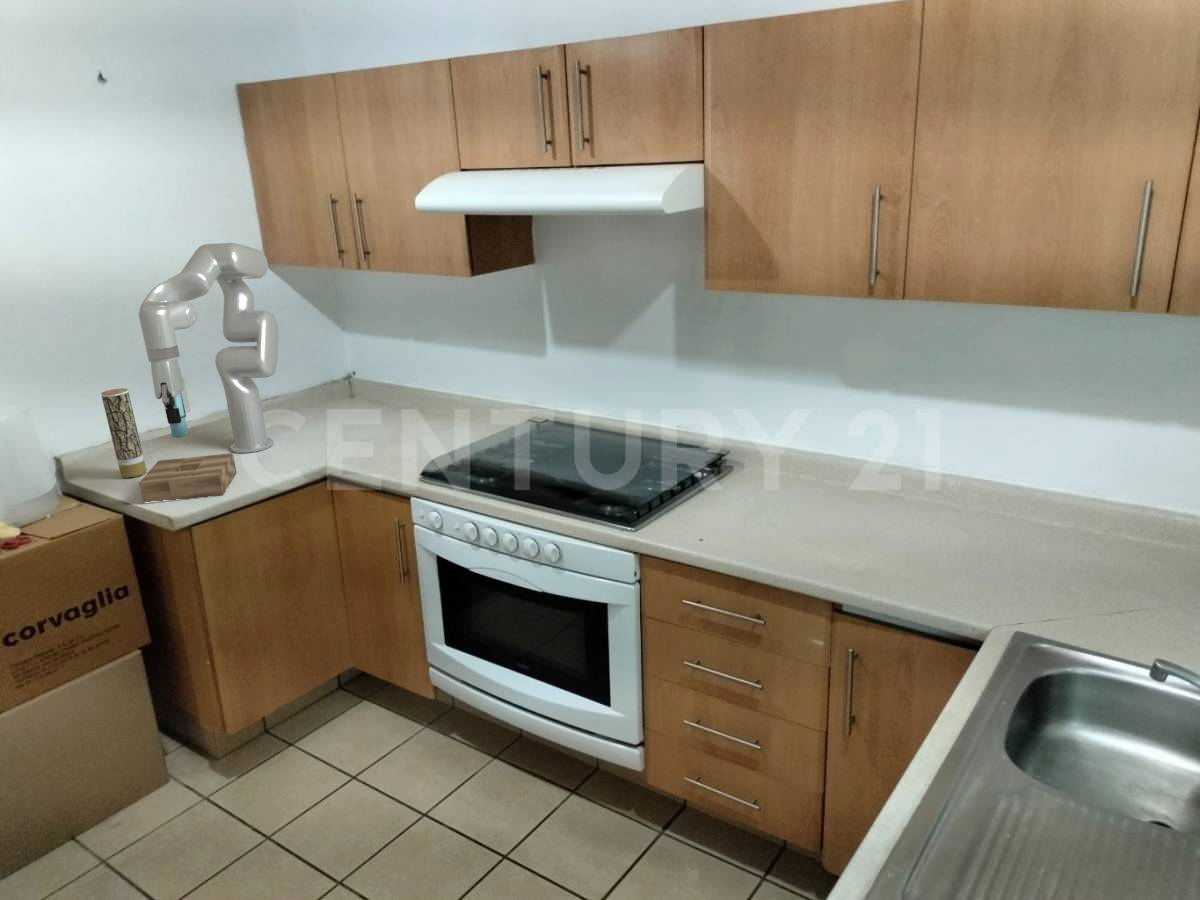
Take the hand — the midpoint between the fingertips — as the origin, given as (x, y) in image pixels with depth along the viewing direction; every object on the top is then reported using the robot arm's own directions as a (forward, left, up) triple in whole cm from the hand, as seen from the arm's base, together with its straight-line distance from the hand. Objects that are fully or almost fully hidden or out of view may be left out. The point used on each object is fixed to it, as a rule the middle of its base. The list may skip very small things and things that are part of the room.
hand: (177, 419), depth 242 cm
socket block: (0, 0, -20) cm, 20 cm away
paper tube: (-17, -20, -20) cm, 33 cm away
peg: (0, 0, -4) cm, 4 cm away
